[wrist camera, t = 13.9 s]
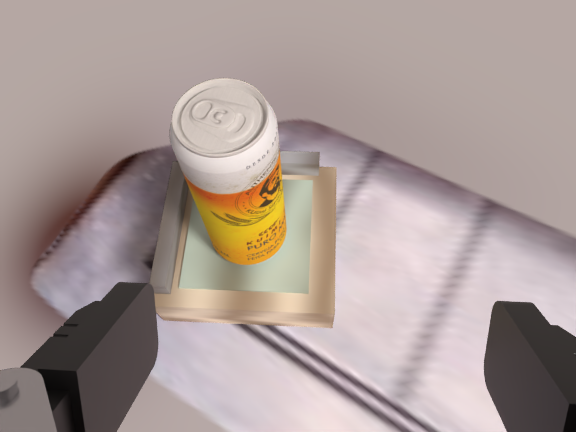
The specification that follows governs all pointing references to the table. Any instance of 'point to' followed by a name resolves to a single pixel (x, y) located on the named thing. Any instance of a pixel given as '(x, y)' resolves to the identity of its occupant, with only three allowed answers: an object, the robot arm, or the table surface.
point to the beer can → (232, 167)
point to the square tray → (258, 277)
